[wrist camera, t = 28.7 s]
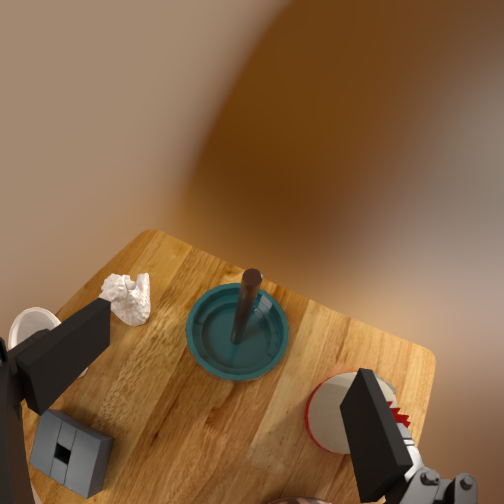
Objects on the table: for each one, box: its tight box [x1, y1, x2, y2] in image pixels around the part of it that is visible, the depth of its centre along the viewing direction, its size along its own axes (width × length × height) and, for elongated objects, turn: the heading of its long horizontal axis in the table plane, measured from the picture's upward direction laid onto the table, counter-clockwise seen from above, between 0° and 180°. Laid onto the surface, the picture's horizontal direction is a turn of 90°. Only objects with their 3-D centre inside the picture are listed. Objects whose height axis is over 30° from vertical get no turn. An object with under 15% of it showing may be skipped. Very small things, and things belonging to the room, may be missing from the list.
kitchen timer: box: [305, 372, 411, 454], centre depth 34 cm, size 14×14×15 cm
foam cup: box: [8, 307, 88, 379], centre depth 34 cm, size 10×9×13 cm
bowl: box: [186, 283, 289, 385], centre depth 43 cm, size 15×15×6 cm
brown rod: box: [230, 268, 263, 345], centre depth 36 cm, size 2×2×22 cm
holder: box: [30, 409, 115, 499], centre depth 29 cm, size 11×11×6 cm
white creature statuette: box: [98, 273, 150, 326], centre depth 41 cm, size 10×9×12 cm
